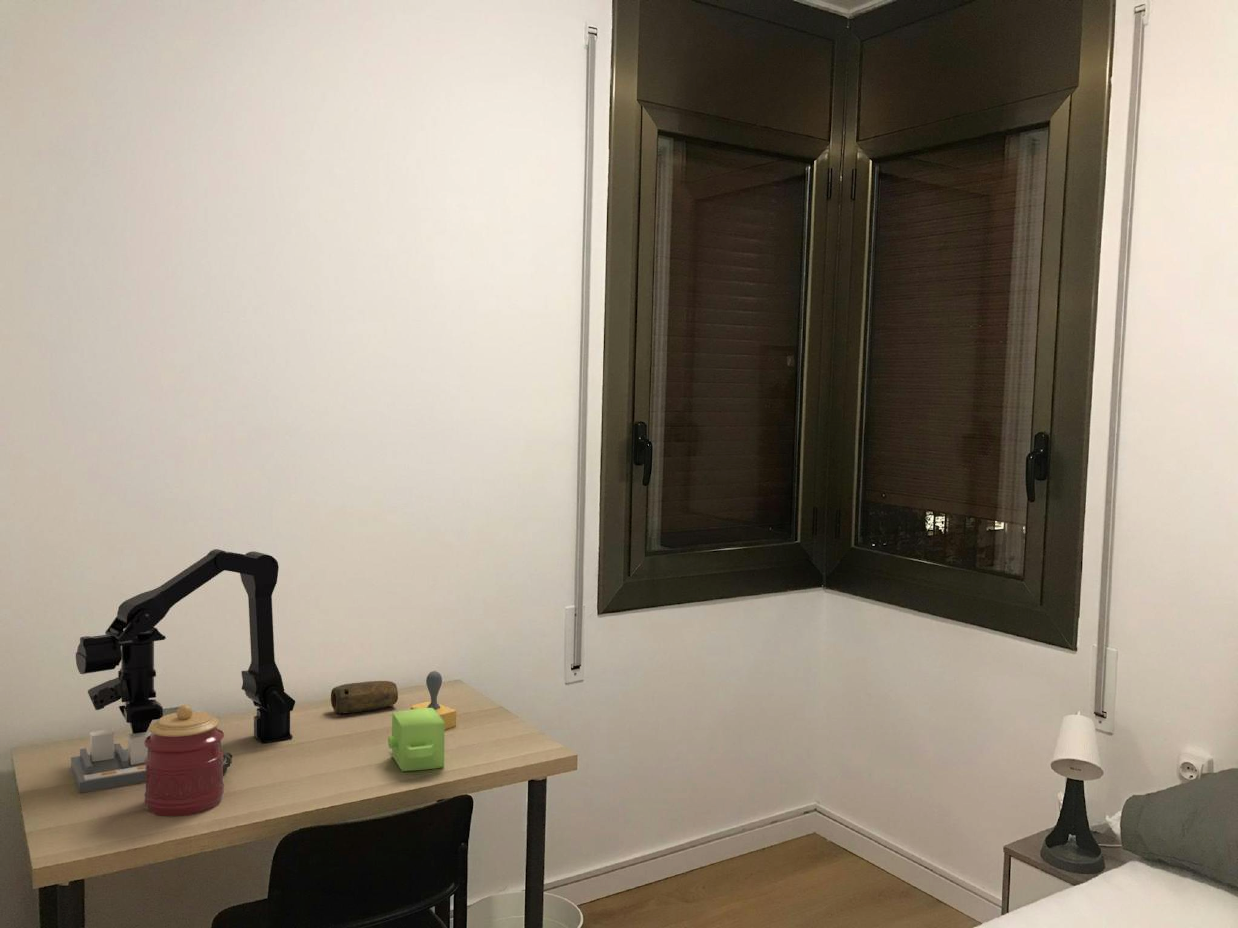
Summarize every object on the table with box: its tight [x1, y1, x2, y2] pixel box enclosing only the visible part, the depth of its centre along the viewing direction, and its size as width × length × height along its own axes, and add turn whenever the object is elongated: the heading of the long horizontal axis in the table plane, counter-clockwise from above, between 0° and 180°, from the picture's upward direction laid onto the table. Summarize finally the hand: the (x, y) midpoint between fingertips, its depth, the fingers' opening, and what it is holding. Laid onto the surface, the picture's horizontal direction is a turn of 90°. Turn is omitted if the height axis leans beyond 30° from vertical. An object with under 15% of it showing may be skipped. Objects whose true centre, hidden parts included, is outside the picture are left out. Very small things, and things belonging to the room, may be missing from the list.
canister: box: [144, 704, 225, 817], centre depth 180 cm, size 13×13×18 cm
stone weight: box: [330, 680, 399, 714], centre depth 237 cm, size 15×7×7 cm, turn 128°
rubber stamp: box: [410, 670, 457, 730], centre depth 228 cm, size 10×6×12 cm, turn 46°
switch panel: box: [70, 743, 146, 794], centre depth 194 cm, size 16×15×4 cm
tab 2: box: [127, 730, 152, 765], centre depth 195 cm, size 4×3×5 cm
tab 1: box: [89, 728, 115, 762], centre depth 196 cm, size 4×3×5 cm
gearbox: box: [387, 708, 446, 772], centre depth 204 cm, size 18×10×10 cm, turn 23°
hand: (138, 743), depth 197 cm, fingers closed
